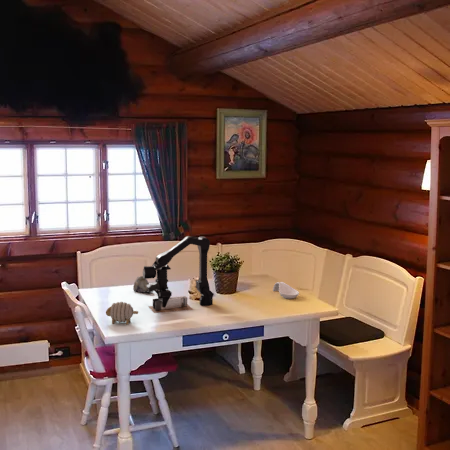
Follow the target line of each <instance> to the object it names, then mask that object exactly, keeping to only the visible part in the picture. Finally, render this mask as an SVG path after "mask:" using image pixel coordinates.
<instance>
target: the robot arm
mask: <svg viewBox="0 0 450 450" xmlns="http://www.w3.org/2000/svg"><path fill="white" fill-rule="evenodd" d="M190 245H193V246H197V249H198V252H199V257H198V259H199V264H198V265H199V267H198V271H199V272H198V273H199V275H198V280H195V288H196V290H197V292H199V293H200V298H199V306H204V307H210V306H212V305H213V304H214V303H213V299H214V298H213V297H214V292H213V291H211V288H210V282H209V280H208V253H209V250H210V245H211V240H210V239H209V238H207V237H206V236H199V237H198V236H190V235H187V236H185V237H184V238H183V239H181V241H179V242H178V243H176V244H175V245H174V246H172V247H170V249H168V250H166V251H164V252H161V253H159V254H157V256H155V260H154V262H153V263H152V265H150V266H149V265H148V266H147V265H144V266H143V269H142V276H143V278H144V279H146V280H148V279H155V281H154V282H151V283H149V284H148V285H147V286H146V287H147V289H148V291H149V292H148V293H153V292H155V294H156V295H157V298H162V303H163V307H166V305H167V302H168V300H169V298H170V297H173V296H172V294H173V293H172V291H170V289H169V286H168V282H169V279H168V270H171V269H172V268H171V267H170V266H169V265H168V264H169V263H170V262H171V261H172V259H173V258H174V257H175V256H176V255H177V254H179V253H181V252H182V251H183V250H184V249H186V248H187V247H188V246H190ZM152 291H153V292H152Z"/></svg>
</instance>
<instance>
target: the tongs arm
mask: <svg viewBox="0 0 450 450" xmlns="http://www.w3.org/2000/svg"><path fill="white" fill-rule="evenodd" d="M180 297H181V298H174V299H169V300H168V302H167V305H166V307H163V303H162V300H159V301H155V310H163V309H170V308H177V307H184V297H183V296H180Z"/></svg>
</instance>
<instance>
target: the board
mask: <svg viewBox="0 0 450 450" xmlns="http://www.w3.org/2000/svg"><path fill="white" fill-rule="evenodd" d="M148 308H149V309H150V311H152V313H153V314H157V313H158V314H160V313H169V312H170V313H171V312H182V311H194V309H193V308H192V307H191V306H190V305H189V304H188V303H187V306H186V307H185V306H184V307H177V308H170V309H163V310H155V308H153V305H152V306H151V305H150V306H149V305H148Z"/></svg>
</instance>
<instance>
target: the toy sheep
mask: <svg viewBox="0 0 450 450" xmlns="http://www.w3.org/2000/svg"><path fill="white" fill-rule="evenodd" d="M138 314H139V311H137V310H134V308H133V307H132V305H131V303H127V302H123V301H120V302H119V301H117V302H113V303H112V304H111V306H109V307H107V308H106V310H105V315H106V316H107V317H111V318H110V319H111V325H115V322H118V323H125V324H126V325H127V324H128V325H129V323H131V318H132V317H133V315H138Z"/></svg>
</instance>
